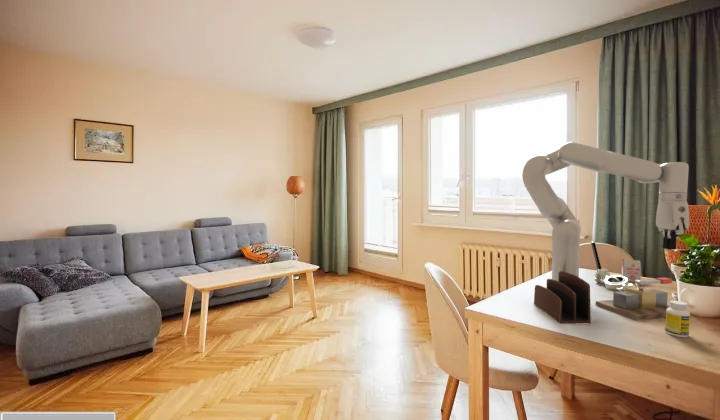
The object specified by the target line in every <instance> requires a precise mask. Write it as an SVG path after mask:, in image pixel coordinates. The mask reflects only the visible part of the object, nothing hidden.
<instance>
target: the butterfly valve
mask: <svg viewBox="0 0 720 420" xmlns="http://www.w3.org/2000/svg"><path fill="white" fill-rule="evenodd" d="M590 245H591V248H592V252H593V256H594V261H595V265H596V270H595V272H594V275H593V279H594V281H595V282H596V283H597V284H600V283H601V284H604V286H605V288H606V289H607V290H611V291H614V292H620V291H625V289H626V288H628V287H634V285H633V283H632V282H628V279H627V278H626V277H624V276H621V275H611V272H609V269H607V268H606V267H605V268H604V267H602V265H601V263H600V257H599V254H598V249H597V246H596V242H595V241H590Z"/></svg>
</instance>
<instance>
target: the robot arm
mask: <svg viewBox="0 0 720 420" xmlns="http://www.w3.org/2000/svg"><path fill="white" fill-rule="evenodd" d="M569 166H576V167H579V168H582V169H585V170H589V171H593V172H596V173H600V174H610V175H615V176H617V177H618V176H619V177H622V178H627V179H631V180H633V181H636V182H637V183H640V184H652V183H659V184H658V185H659V186H658V200H657V201H658V204H657V208H656V213H655V214H656V215H655V227H657V228H658V232H661V235H662V236H661V237H662V238H663V240H662V249H664V250H676V249H677V239H678V238H679V235H683V234H684V231H688V230H689V229H690V208H689V203H688V201H687V199H688V185H689V184H688V183H689V182H688V181H689V169H690V168H689V164H688V163H687V162H684V161H675V162H674V161H672V162H665V163H657V162H654V161H652V160H646V159H644V158H640V157H635V156H631V155H627V154H622V153H619V152H615V151H610V150H606V149H602V148H599V147H594V146H590V145H587V144H582V143H578V142H574V141H568V142H565V143H563V144H561V145H560V146H559V148H557V149H555V150H553V151H551V152H548V153H546V154H534V155H533V156H531V157H530V158H529V159H528V160H527V161H526V162H525V164H524V166H523V169H522V177H521V178H522V181H523V185H524V187H525V189H526V191H527V193H528V194H529V196H530V197H531V199H532V200H533V202H534V204H535V205H536V207H537V209H538V211H539V213H540V214H541V215H542V217H544V218H545V219H547V220H548V222H549V224H550V226H552V231H551V245H552V247H551V248H552V253H551V254H552V255H551V259H552V260H551V279H553V280H556V281H558V282H559V277H558V276H559V275H558V274H559V271H563V272H567V273H570V274H573V275H575V276H577V277H579V276H580V274H579V272H580V240H581V239H580V238H581V231H582V228H581V227H582V226H581V224H580V223H579V221H578V219H577V217H576V216H575V215H574V214H573V212H572V211H571V209H570V207H569V206H568V205H567V203H566V201H564V199H562V198H561V197H560V196H558V195H557V194H556V193H555V191H554V189H553V188H552V185H550V182H548V180H547V177H546V176H547V175H549V174H552V173H555V172H557V171H560V170H563V169H565V168H567V167H569ZM662 231H663V232H662ZM579 278H580V277H579ZM544 287H545V286H544ZM545 288H547V286H546V287H545Z"/></svg>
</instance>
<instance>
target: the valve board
mask: <svg viewBox="0 0 720 420" xmlns="http://www.w3.org/2000/svg"><path fill="white" fill-rule="evenodd" d="M595 306H597V307H599V308H603V309H605V310H607V311H611V312H613V313H616V314H619V315H621V316H623V317H627V318H629V319H631V318H632V320H635V321H642V320H654V319H661V318H666V310H667V308H669V307H671V306H670V304H667V306H664V307H656V308H651V309H631V310H625V309H622V308H619V307H616V306H613V299H607V300H596V301H595Z"/></svg>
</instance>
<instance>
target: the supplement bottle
mask: <svg viewBox="0 0 720 420" xmlns="http://www.w3.org/2000/svg"><path fill="white" fill-rule="evenodd" d="M669 305H670V306H671V307H669V308H667V310H666V317H665V325H664V326H665V327H664V328H665V329H664V330H665V333H666V334H668V335H670V336H673V337H678V338H688V337H689V335H690V325H691V324H690V323H691V314H690V311H689V310H687V309H688V303H687V302H684V301H681V300H670V301H669Z"/></svg>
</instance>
